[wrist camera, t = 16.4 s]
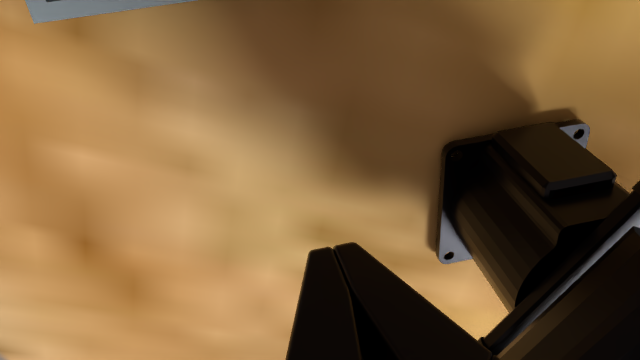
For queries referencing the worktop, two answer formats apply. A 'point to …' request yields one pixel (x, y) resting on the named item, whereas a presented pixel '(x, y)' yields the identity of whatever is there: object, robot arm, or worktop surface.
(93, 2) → the tray
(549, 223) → the robot arm
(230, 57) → the worktop surface
